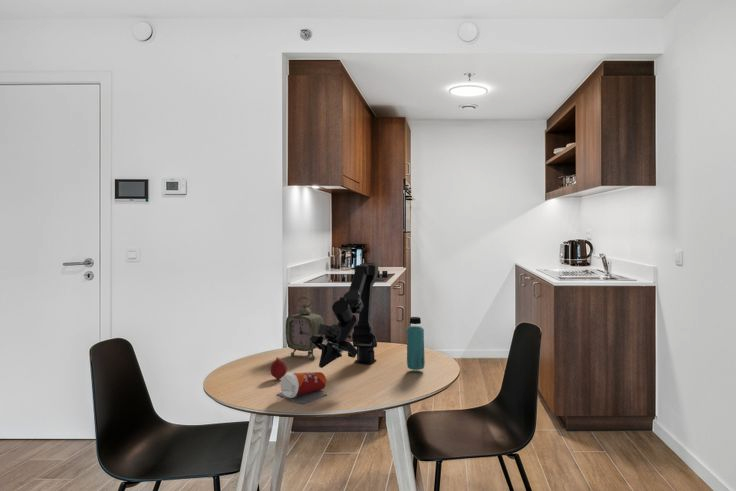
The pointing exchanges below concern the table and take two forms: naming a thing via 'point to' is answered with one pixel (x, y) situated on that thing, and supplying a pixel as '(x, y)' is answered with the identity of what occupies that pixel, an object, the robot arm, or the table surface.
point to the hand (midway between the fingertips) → (320, 367)
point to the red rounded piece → (278, 369)
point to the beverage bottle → (415, 345)
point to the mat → (305, 397)
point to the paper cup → (302, 383)
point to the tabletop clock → (303, 329)
